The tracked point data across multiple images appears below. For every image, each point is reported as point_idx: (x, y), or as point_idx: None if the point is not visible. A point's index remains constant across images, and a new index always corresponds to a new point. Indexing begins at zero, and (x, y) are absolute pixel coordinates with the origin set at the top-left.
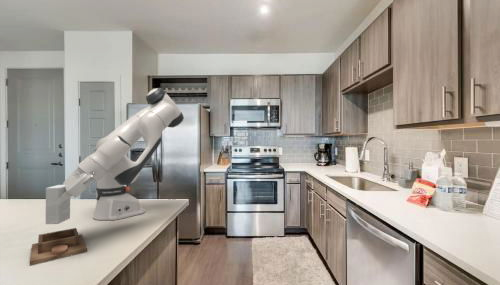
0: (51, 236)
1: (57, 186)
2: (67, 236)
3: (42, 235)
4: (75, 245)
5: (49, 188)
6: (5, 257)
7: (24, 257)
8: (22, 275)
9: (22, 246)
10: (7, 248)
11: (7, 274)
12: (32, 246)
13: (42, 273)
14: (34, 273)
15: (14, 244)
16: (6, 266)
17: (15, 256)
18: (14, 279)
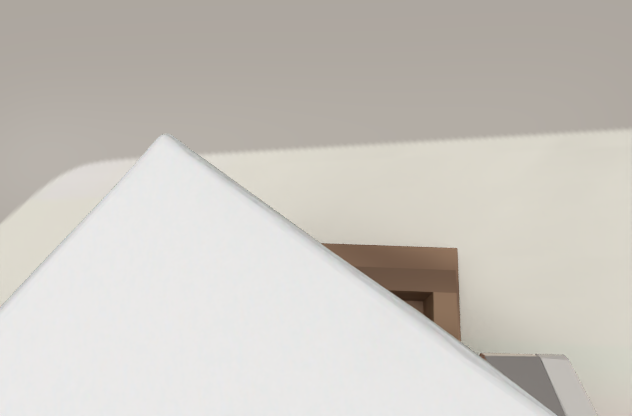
0: None
1: (198, 400)
2: None
3: (414, 291)
4: None
5: (101, 203)
6: (376, 148)
7: (304, 221)
8: (62, 218)
9: (517, 210)
10: (533, 146)
11: (128, 168)
12: (404, 250)
13: (8, 289)
14: (40, 259)
15: (591, 173)
16: (236, 159)
17: (356, 185)
18: (46, 193)
